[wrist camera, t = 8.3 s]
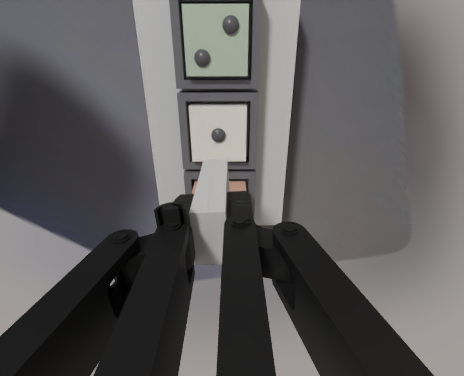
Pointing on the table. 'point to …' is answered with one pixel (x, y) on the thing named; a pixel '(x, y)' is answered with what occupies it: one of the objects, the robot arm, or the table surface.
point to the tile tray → (221, 98)
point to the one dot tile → (218, 130)
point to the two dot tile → (216, 39)
